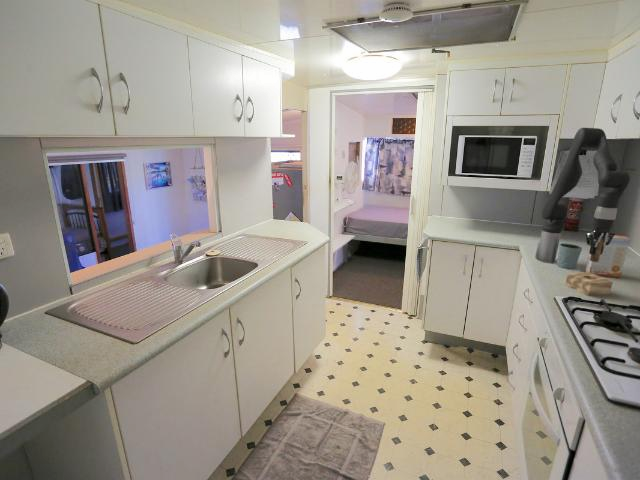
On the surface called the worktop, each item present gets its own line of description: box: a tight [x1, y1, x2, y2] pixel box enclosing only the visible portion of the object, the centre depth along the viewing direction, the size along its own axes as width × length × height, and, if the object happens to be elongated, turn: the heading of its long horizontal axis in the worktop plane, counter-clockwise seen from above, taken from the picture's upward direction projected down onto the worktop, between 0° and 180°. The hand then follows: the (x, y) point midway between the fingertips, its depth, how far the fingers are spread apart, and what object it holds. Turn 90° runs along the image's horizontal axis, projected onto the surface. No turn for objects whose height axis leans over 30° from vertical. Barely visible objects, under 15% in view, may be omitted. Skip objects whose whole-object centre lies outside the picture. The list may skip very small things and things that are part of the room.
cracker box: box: [584, 234, 631, 279], centre depth 184 cm, size 14×6×21 cm, turn 73°
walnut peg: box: [590, 238, 604, 262], centre depth 162 cm, size 3×3×11 cm
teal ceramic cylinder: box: [556, 243, 583, 270], centre depth 196 cm, size 10×10×12 cm
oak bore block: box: [564, 271, 614, 297], centre depth 167 cm, size 12×12×6 cm
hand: (595, 254), depth 163 cm, fingers closed on walnut peg, 3 cm apart
